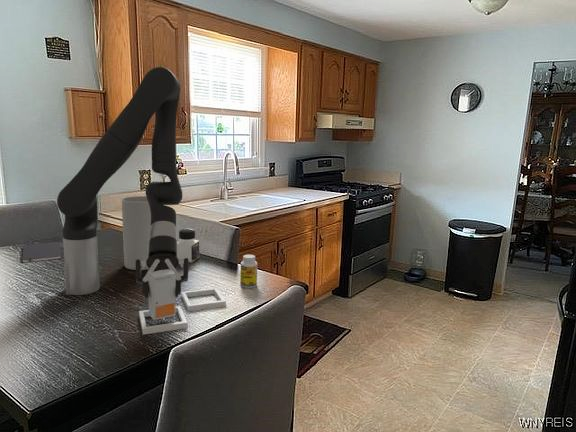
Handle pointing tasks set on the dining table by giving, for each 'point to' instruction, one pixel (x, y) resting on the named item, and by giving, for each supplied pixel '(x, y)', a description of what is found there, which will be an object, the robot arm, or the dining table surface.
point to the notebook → (41, 252)
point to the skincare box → (162, 294)
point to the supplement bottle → (248, 272)
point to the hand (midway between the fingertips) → (161, 296)
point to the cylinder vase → (136, 230)
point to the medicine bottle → (187, 245)
